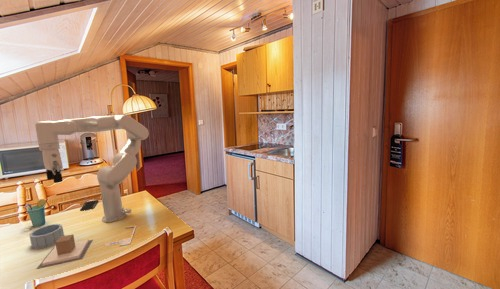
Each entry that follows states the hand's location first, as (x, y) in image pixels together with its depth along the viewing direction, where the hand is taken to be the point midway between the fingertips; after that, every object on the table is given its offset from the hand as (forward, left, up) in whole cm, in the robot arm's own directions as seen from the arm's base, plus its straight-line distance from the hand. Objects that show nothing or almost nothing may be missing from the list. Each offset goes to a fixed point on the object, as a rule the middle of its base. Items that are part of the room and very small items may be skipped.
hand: (54, 180), depth 114 cm
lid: (-7, +19, -30) cm, 36 cm away
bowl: (+6, +3, -30) cm, 31 cm away
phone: (0, -41, -31) cm, 51 cm away
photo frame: (-26, +13, -31) cm, 42 cm away
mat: (-7, +19, -30) cm, 36 cm away
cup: (+20, -21, -30) cm, 42 cm away
